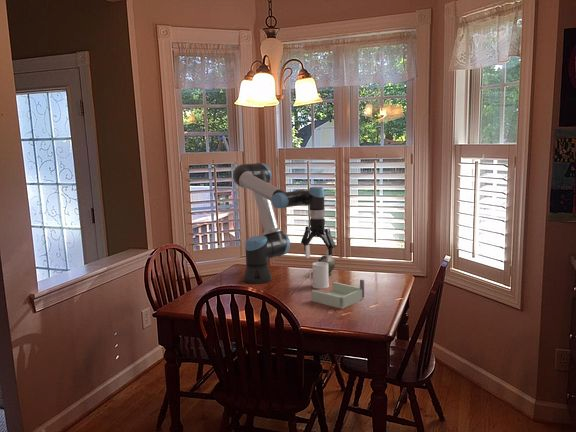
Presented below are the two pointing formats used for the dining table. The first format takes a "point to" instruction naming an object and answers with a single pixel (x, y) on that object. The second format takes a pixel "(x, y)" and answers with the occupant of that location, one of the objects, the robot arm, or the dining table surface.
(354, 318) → the dining table surface
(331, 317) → the dining table surface
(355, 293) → the tray
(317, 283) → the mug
